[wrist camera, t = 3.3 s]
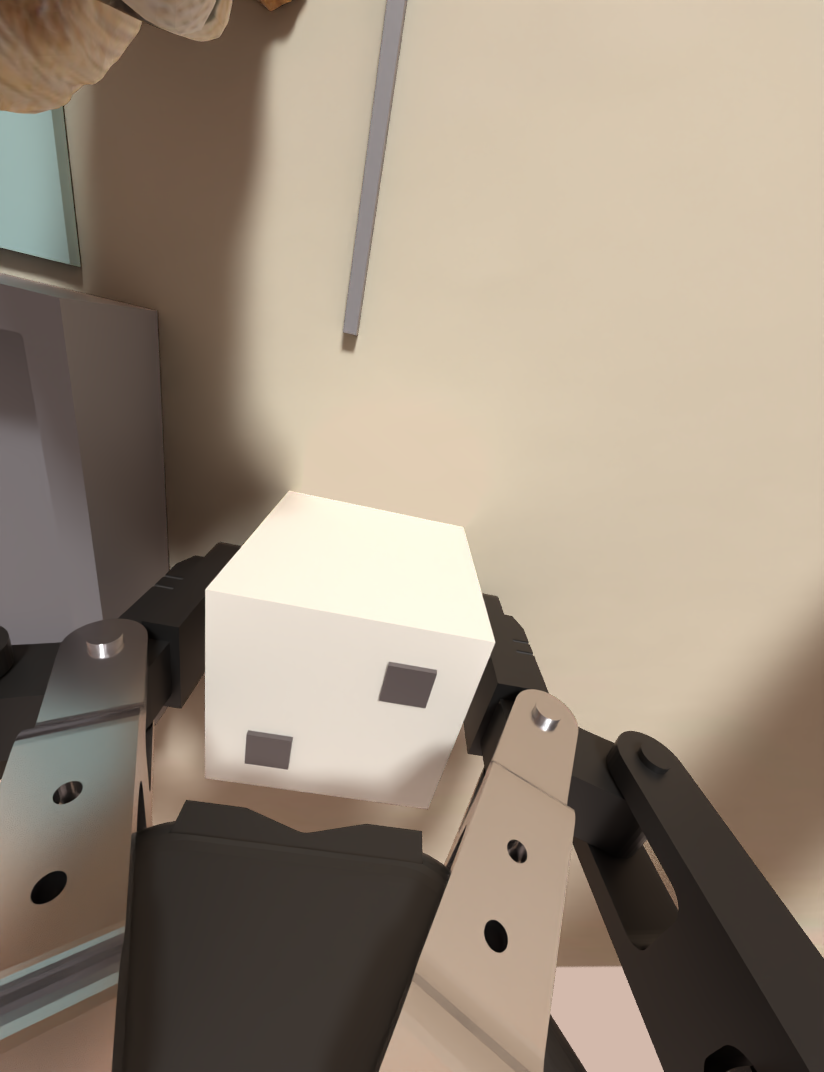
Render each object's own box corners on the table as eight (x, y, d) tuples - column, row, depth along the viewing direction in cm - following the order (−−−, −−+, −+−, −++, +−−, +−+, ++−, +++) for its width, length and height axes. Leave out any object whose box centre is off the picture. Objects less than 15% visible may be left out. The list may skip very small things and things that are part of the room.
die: (463, 525, 12) (496, 646, 7) (422, 657, 14) (427, 816, 9) (286, 488, 11) (195, 591, 6) (272, 631, 13) (197, 785, 9)
